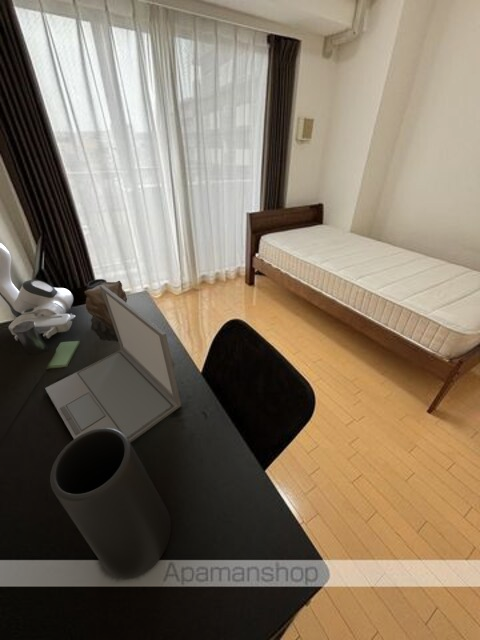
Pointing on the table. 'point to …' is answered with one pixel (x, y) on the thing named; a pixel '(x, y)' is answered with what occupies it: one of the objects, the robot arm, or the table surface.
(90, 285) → the coffee cup
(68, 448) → the vase
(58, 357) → the rag
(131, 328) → the laptop
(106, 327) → the owl
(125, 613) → the table surface
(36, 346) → the can
